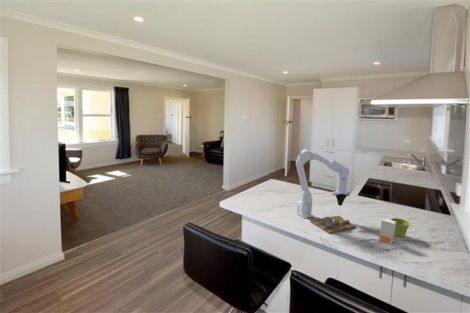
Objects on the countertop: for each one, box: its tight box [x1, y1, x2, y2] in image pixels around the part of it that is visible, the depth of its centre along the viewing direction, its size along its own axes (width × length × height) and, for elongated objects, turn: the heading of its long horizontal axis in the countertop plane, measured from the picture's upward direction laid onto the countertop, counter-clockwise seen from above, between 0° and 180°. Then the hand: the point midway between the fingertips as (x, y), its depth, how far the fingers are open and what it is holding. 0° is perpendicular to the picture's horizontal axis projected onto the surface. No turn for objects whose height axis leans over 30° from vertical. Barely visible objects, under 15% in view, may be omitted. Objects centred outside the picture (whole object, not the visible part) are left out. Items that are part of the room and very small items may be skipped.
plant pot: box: [390, 217, 411, 239], centre depth 147 cm, size 9×9×9 cm
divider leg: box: [334, 215, 344, 226], centre depth 157 cm, size 5×3×5 cm, turn 24°
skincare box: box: [378, 218, 396, 245], centre depth 139 cm, size 6×4×12 cm
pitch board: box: [310, 215, 357, 234], centre depth 158 cm, size 16×21×7 cm
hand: (339, 205), depth 167 cm, fingers closed
